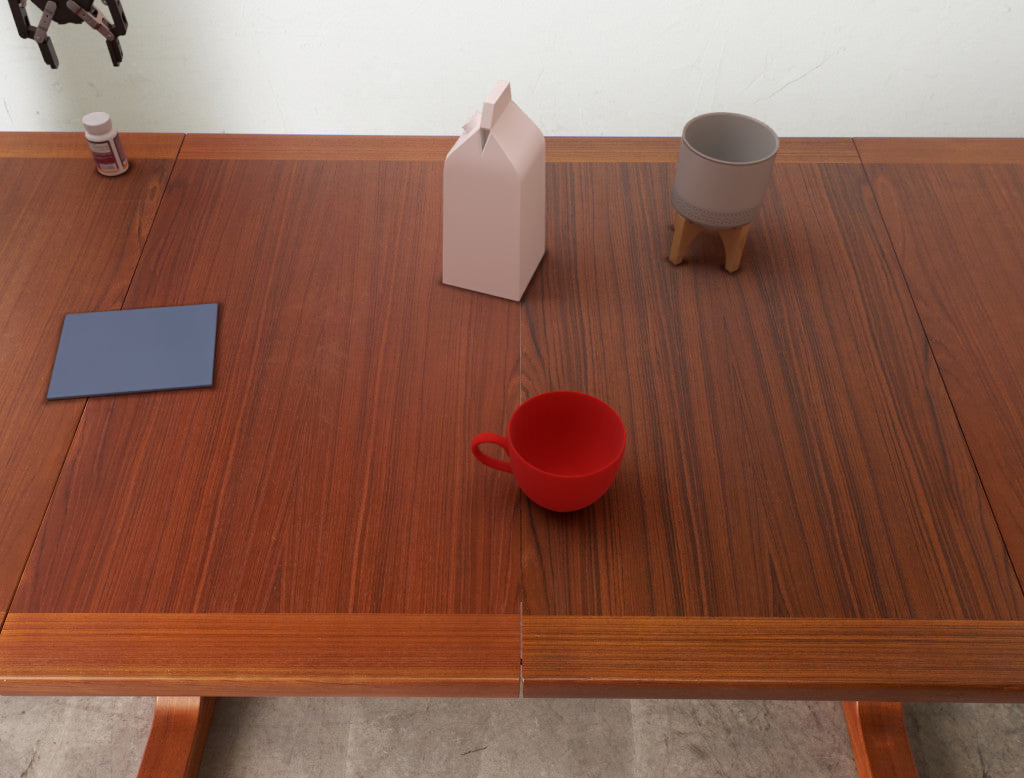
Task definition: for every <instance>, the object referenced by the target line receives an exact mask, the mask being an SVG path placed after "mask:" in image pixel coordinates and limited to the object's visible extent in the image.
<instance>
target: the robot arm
mask: <svg viewBox="0 0 1024 778" xmlns="http://www.w3.org/2000/svg"><path fill="white" fill-rule="evenodd" d="M7 2H8V6H9V10H10V12H11V15H12V17H13V21H14V24H15V27H16V30H17V33H18V36H19V37H20V38H21V39H23V40H28V39H29V40H33V41H34V42H35V43H36V44H37V46H38V48H39V51H40V54H41V56H42V59H43V62H44V63H45V64H46V65H47V66H50V69H51V70H58V69H59V66H60V61H59V58H58V55H57V52H56V49H55V46H54V44H53V40H52V38H51V36H50V35H49V36H48V33H47V32H48V30H49V29H50V26H51V23H52V22H54V23H57V24H58V25H61V26H62V25H67V24H74V25H83V23H84V22H85V23H86V24H87V25H88V26H89V27H90V28H91V29H93V30H95V31H97V33H99V34H100V35H101V36H103V37H104V38H105V44H106V47H107V51H108V55H109V57H110V60H111V63H112V66H113V67H114V68H119V67H120V65H121V63H123V58H124V52H123V49H122V45H121V42H120V39H119V37H121V36H122V37H123V36H126V35H127V32H128V28H129V22H128V18H127V16H126V13H125V10H124V7H123V5H122V2H121V0H100V2H101V3H102V4H103V5H104V6H107V8H108V11H109V13H110V16H111V19H112V21H113V22H111V21H110V20H109V19H108V18H107V17H106V16H105V14H104V13H103V11H102V10H100V9H99V8H98V7H97V6H96V5H95V4H94V2H95V0H30V2H31V3H32V4H34V5H35V6H36V8H38V9H39V10H40V11H41V12H42V14H41V16H40V20H39V22H38V25H37V26H35V25H32V24H31V21H30V19H29V15H28V12H27V8H26V7H27V5H28V2H29V1H28V0H7Z"/></svg>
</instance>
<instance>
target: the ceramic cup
mask: <svg viewBox="0 0 1024 778" xmlns="http://www.w3.org/2000/svg"><path fill="white" fill-rule="evenodd" d="M506 433H507V434H506V435H507V436H504V435H502V434H499V433H494V432H488V431H487V432H486V431H485V432H480V433H478V434H477V435H475V436H474V437H473V438H472V440H471V449H470V450H471V452H472V455H473V456H474V458H475V459H476V460H477V461H478V462H479V463H481V464H483V465H484V466H486V467H488V468H491V469H493V470H497V471H500V472H504V473H507V474H513V477H514V479H515V481H516V483H517V484H518V486H519V488H520V490H521V491H522V492H523V493H524V494H525V496H527V498H528V499H529V500H530V501H532V502H533V503H535V504H536V505H538V506H539V507H542V508H544V509H546V510H549V511H553V512H556V513H569V512H575V511H579V510H583V509H584V508H587V507H589V506H590V505H592V504H594V503H596V502H597V501H598V500H599V499H601V497H603V496H604V495H605V494H606V492H607V491H608V490H609V488H610V487H611V486H612V484H613V482H614V481H615V479H616V477H617V474H618V472H619V470H620V467H621V464H622V461H623V459H624V455H625V451H626V446H627V431H626V427H625V424H624V422H623V420H622V418H621V417H620V415H619V414H618V413H617V411H616V410H615V409H614V408H613V407H611V406H610V405H609V403H607V402H605V401H604V400H601V399H600V398H599V397H596V396H593V395H592V394H588V393H586V392H585V393H584V392H581V391H577V390H576V391H575V390H567V389H565V390H564V389H563V390H552V391H546V392H542V393H539V394H537V395H536V394H535V395H534V396H532V397H530V398H527V399H526V400H525V401H524V402H523V403H521V404H519V406H518V407H517V408H516V409H515V411H514V412H513V413H512V414H511V417H510V419H509V421H508V426H507V431H506ZM486 443H488V444H495V445H498V446H499V447H500V448H502V449H503V451H505V453H506V455H507V457H508V458H509V461H505V460H501V459H498V458H495V457H493V456H490V455H488V454H486V453H484V452H483V451H482V450H481V449H480V448H479V445H481V444H486Z"/></svg>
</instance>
